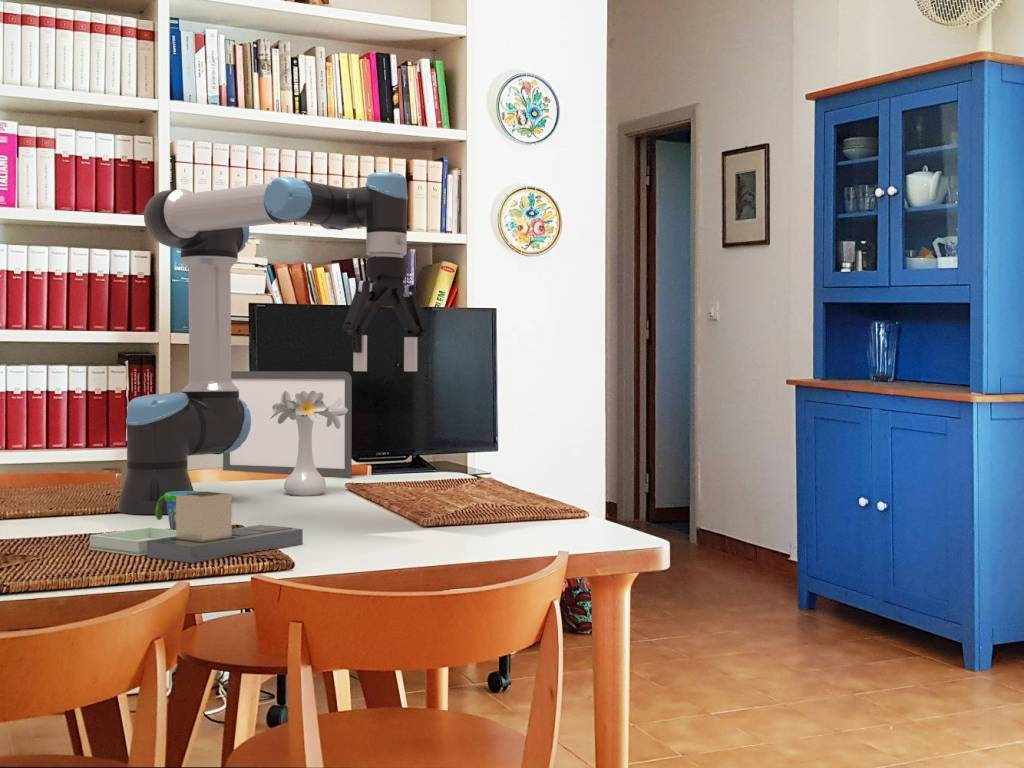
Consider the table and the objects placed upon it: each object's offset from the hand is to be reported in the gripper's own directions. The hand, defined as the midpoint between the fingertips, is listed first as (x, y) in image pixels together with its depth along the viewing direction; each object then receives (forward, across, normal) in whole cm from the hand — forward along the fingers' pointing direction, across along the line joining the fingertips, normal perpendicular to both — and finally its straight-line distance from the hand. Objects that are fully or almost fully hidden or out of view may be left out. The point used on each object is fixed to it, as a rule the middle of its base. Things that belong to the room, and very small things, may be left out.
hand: (385, 371), depth 218 cm
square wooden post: (+28, -42, 0) cm, 50 cm away
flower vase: (+29, +22, +45) cm, 58 cm away
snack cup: (+29, -29, +21) cm, 46 cm away
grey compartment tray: (+29, -37, 0) cm, 47 cm away
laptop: (+30, +31, +73) cm, 85 cm away
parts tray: (+29, -44, +13) cm, 54 cm away
